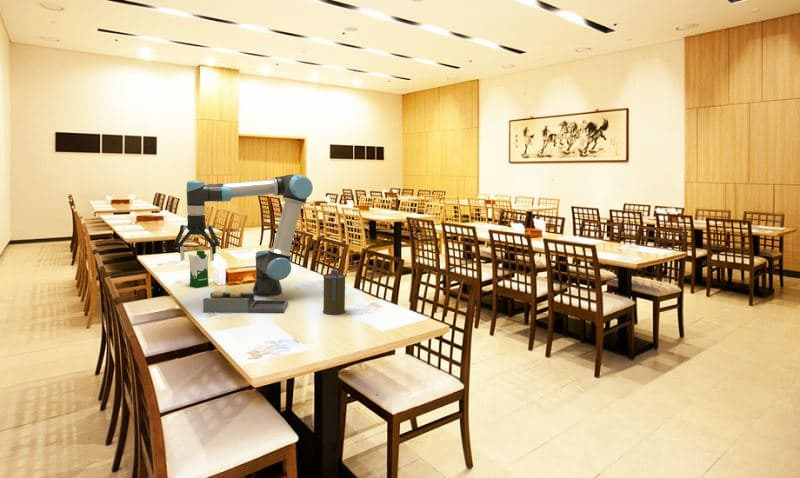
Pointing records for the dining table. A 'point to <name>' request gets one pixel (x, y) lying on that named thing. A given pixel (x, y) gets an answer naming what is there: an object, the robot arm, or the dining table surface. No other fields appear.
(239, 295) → the brass block
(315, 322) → the dining table surface
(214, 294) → the brass block
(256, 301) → the tray
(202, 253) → the milk carton
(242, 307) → the slot plate
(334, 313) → the canister
